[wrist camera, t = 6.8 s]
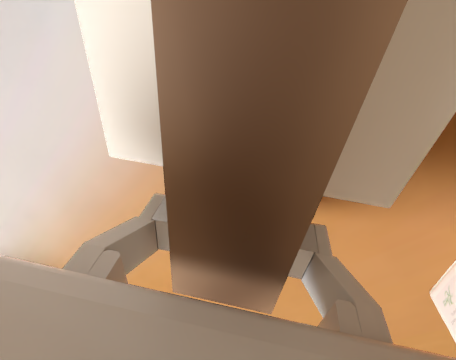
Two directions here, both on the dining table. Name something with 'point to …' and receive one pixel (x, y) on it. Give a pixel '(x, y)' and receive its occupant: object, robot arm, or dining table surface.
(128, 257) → the robot arm
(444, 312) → the syrup box
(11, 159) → the dining table surface
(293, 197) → the bar
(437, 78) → the board
